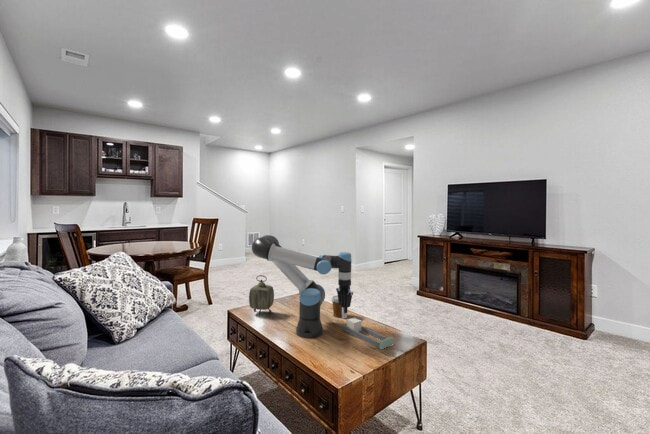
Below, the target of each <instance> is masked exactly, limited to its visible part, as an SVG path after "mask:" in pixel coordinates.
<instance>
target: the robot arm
mask: <svg viewBox="0 0 650 434" xmlns="http://www.w3.org/2000/svg"><path fill="white" fill-rule="evenodd" d="M251 251H252V253H253V255H254V256H255V257H258V258H260V259H265V260H267V261H268V262H272V263H273V264H274V265H275V266H276V267H277V268H278V269H279V270H280V271H281V273H282V274H283V275H285V277H286V278H287V279H288V280H289V281H290V282H291V283H292V285H294V286H295V287H296V289H297V290H298V294H299V298H298V299H299V310H298V311H299V319H298V322H297V325H296V328H295V334H296V335H297V336H298V337H301V338H306V339H311V338H313V339H314V338H319V337H321V336H322V335H323V333H324V328H323V324H322V320H321V306H322V304H323V302H324V301H325V299H326V291H325V289H324V287H323V286H322V285H320V284H317V283H316V282H315V281H314V279H313V280H312V279H311V280H310V279H309V278H308V277H307V276H306V275H305V274H304V273H303V272H302V270H301V269H299V268H298V267H300V268H304V269H308V270H312V271H316V272H317V273H318V274H320V275H327V274H328V273H330V272H331V270H332V269H338V271H337V272H338V273H337V274H338V279H337V280H338V284H337V285H338V287H337V288H336V293H337V295H338V301H339V305H341V312H342V317H341V319H343V320H344V319H348V317H347V316H348V308H350V307H351V303H352V299H353V295H354V291H351V286H352V262H353V261H352V253H351V252H349V251H348V252H346V251H342V252H338V255H330V254H329V255H327V254H324V255H319V256H315V255H311V254H308V253H304V252H300V251H295V250H292V249H290V248H284V247H282V246H281V245H280V242H279V239H278V238H277V237H276V236H273V235H271V234H270V235H268V234H266V235H263V236H261V237H257V238H256V239H254V241H253V242H252V244H251ZM340 302H341V303H340Z"/></svg>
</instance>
